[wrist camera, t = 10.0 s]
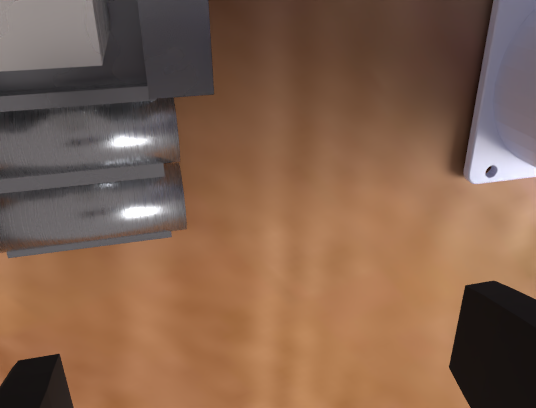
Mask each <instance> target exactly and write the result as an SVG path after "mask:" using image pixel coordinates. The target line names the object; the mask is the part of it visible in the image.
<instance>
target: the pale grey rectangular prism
mask: <svg viewBox="0 0 536 408" xmlns="http://www.w3.org/2000/svg"><path fill="white" fill-rule="evenodd" d="M110 27H111V21H110V14H109V7H108V0H0V72H1V71H18V70H35V69H52V68H69V67H86V66H102V64H103V60H104V55H105V50H106V46H107V41H108V36H109V32H110Z"/></svg>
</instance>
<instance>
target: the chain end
mask: <svg viewBox="0 0 536 408" xmlns="http://www.w3.org/2000/svg"><path fill="white" fill-rule="evenodd" d="M108 7H109V14H110V21H111V27H110V32H109V36H108V41H107V46H106V50H105V55H104V60H103V64H102V66H86V67H69V68H52V69H35V70H18V71H1V72H0V253H3V252H7V255H8V258H13V257H21V256H28V255H36V254H44V253H52V252H59V251H67V250H75V249H83V248H90V247H98V246H106V245H113V244H121V243H129V242H137V241H144V240H152V239H160V238H168V237H172V235H171V231H177V230H185V229H187V222H186V210H185V201H184V192H183V184H182V177H181V171H180V166H179V163H172V162H180V149H179V137H178V128H177V119H176V111H175V104H174V98H173V97H186V96H199V95H213V94H214V86H213V69H212V53H211V36H210V19H209V3H208V0H108ZM163 163H170V164H163Z"/></svg>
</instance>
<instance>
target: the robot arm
mask: <svg viewBox="0 0 536 408" xmlns="http://www.w3.org/2000/svg"><path fill="white" fill-rule="evenodd" d="M489 166H491V169H490V171H489V172H488V173H485V172H486V170H487V168H488V167H489ZM464 177H465V179H467V180H468V181H470V182H471V183H473V184H482V183H490V182H498V181H506V180H515V179H523V178H531V177H536V0H493V6H492V12H491V17H490V23H489V29H488V34H487V40H486V46H485V51H484V57H483V63H482V69H481V74H480V80H479V86H478V91H477V97H476V103H475V109H474V114H473V120H472V126H471V131H470V137H469V143H468V148H467V154H466V160H465V166H464ZM449 368H450V370H451V372H452V374H453V376H454V378H455V380H456V382H457V384H458V386H459V387H460V389H461V391H462V393H463V395H464V397H465V399H466V400H467V402H468V404H469V406H470V407H471V408H536V299H534V298H532V297H529V296H527V295H525V294H523V293H521V292H519V291H517V290H515V289H512V288H510V287H508V286H506V285H503V284H501V283H499V282H496V281H489V282H483V283H477V284H471V285H465V290H464V295H463V300H462V305H461V310H460V315H459V320H458V325H457V330H456V335H455V340H454V345H453V350H452V355H451V360H450V365H449ZM0 408H73V404H72V400H71V396H70V392H69V388H68V385H67V381H66V377H65V373H64V369H63V365H62V361H61V358H60V354H55V355H49V356H43V357H37V358H31V359H25V360H19V361H18V362H17V363H16V364H15V365H14V366H13V367H12V369H11V371H10V372H9V374H8V375H7V377H6V378H5V380H4V381H3V383H2V384H1V386H0Z"/></svg>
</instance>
